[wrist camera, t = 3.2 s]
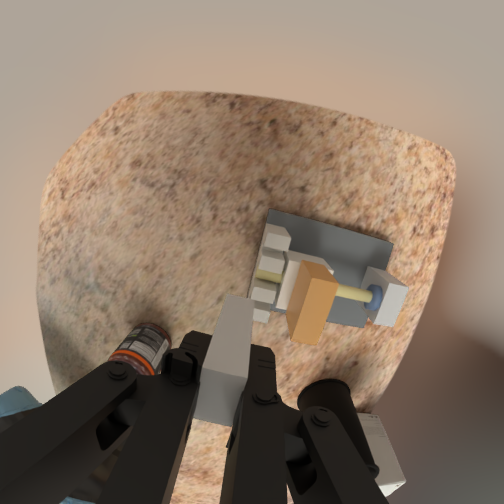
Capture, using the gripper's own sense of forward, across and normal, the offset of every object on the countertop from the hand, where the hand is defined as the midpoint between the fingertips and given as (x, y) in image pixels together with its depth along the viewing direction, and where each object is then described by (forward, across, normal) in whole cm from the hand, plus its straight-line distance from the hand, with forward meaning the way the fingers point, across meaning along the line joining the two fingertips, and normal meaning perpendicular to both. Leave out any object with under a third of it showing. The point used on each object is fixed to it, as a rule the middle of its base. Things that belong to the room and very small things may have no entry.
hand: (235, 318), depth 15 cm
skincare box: (+17, +24, -26) cm, 39 cm away
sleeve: (+13, +5, 0) cm, 14 cm away
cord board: (+17, +8, 0) cm, 19 cm away
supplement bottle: (+17, -10, -15) cm, 25 cm away
